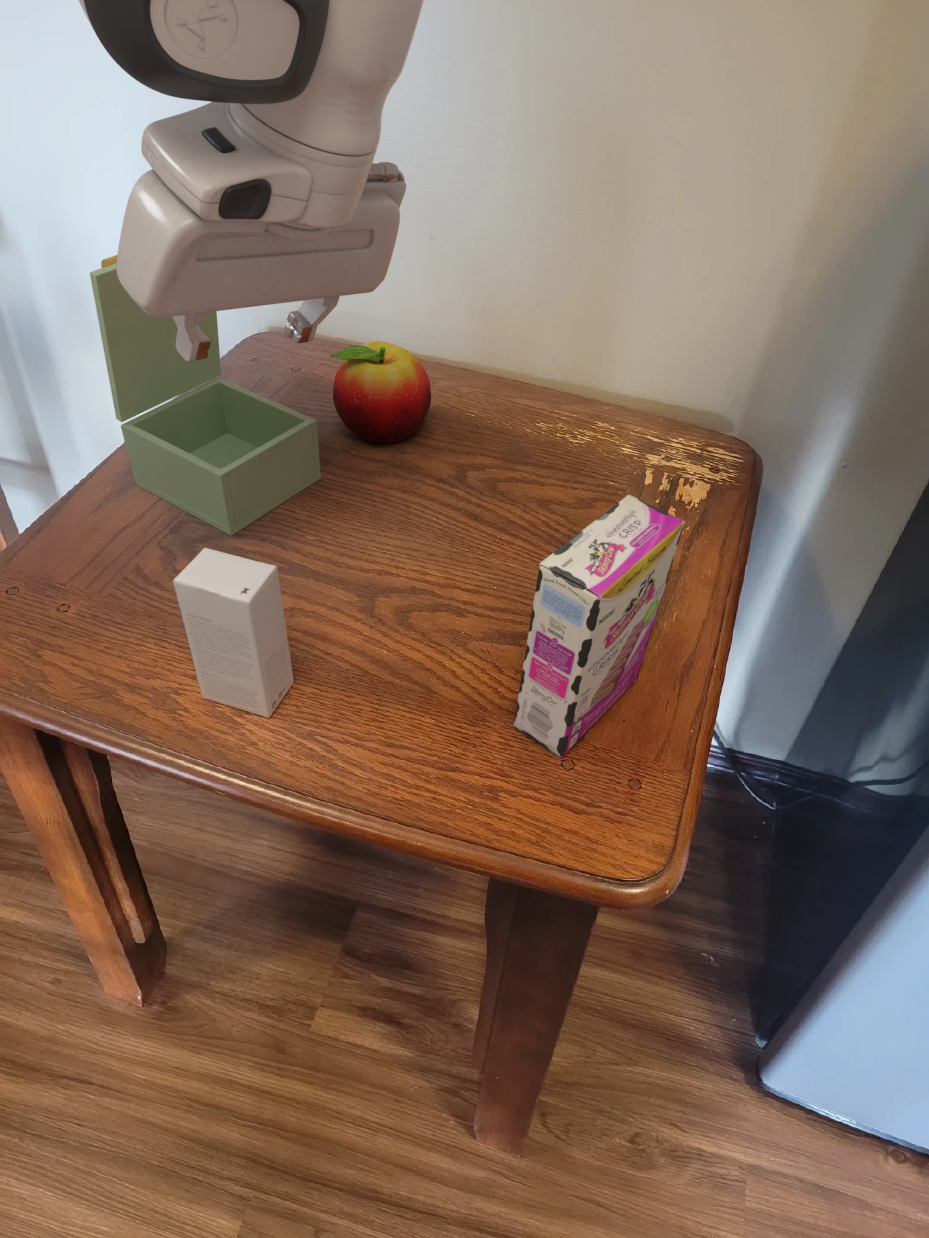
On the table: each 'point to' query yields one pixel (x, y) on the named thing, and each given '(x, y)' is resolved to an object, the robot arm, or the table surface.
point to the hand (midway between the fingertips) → (246, 346)
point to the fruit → (381, 391)
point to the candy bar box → (593, 621)
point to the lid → (145, 348)
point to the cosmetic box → (236, 630)
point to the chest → (223, 453)
